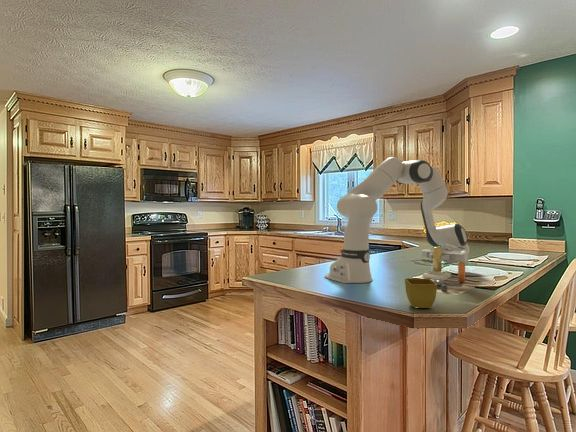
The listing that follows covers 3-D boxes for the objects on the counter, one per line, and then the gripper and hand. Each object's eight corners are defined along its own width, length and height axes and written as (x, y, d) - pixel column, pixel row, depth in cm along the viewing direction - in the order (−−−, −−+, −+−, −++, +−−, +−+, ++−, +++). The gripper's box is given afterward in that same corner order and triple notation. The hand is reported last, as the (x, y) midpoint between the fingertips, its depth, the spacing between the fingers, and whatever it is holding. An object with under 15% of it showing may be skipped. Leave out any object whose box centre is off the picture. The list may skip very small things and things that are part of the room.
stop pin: (431, 271, 163) (431, 247, 163) (435, 269, 166) (435, 246, 165) (439, 272, 161) (439, 247, 160) (442, 270, 163) (442, 247, 163)
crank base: (412, 288, 146) (412, 281, 146) (431, 281, 158) (431, 274, 158) (457, 296, 133) (457, 289, 133) (475, 288, 145) (475, 281, 145)
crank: (433, 285, 144) (433, 262, 143) (433, 282, 148) (433, 260, 148) (465, 287, 140) (465, 264, 139) (464, 285, 144) (464, 262, 143)
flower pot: (429, 303, 126) (430, 278, 125) (437, 311, 117) (437, 284, 117) (404, 303, 127) (404, 278, 126) (410, 311, 118) (410, 284, 118)
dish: (422, 278, 164) (422, 273, 164) (431, 275, 170) (431, 270, 170) (442, 281, 157) (442, 276, 157) (450, 278, 163) (451, 273, 163)
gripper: (428, 245, 179) (414, 248, 170) (471, 248, 164) (459, 252, 155) (428, 257, 180) (414, 261, 170) (471, 262, 164) (459, 267, 155)
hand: (436, 257), depth 162 cm, fingers closed on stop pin, 4 cm apart
